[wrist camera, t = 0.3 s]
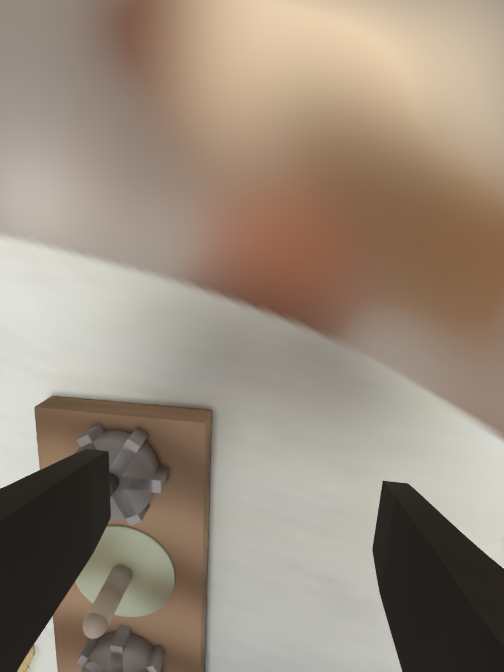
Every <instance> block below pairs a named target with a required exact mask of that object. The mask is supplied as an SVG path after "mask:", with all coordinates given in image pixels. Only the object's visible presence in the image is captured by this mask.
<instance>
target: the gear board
mask: <svg viewBox="0 0 504 672" xmlns="http://www.w3.org/2000/svg"><path fill="white" fill-rule="evenodd" d="M34 408H35V420H36V431H37V442H38V454H39V465H40V470H41V469H43V468H45V467H48V466H50V465H52V464H54V463H56V462H58V461H60V460H62V459H64V458H66V457H69V456H71V455H73V454H75V453H78V452H80V451H83V450H86V449H93V450H102V451H109V474H110V504H111V518H110V520H109V522H108V525H107V527H106V529H105V531H104V533H103V535H102V537H101V539H100V541H99V543H98V545H97V547H96V549H95V551H94V553H93V555H92V556H91V558H90V559H89V561H88V562H87V564H86V566H85V567H84V569H83V570H82V572H81V573H80V575H79V576H78V578H77V579H76V581H75V583H74V584H73V586H72V587H71V589H70V590H69V592H68V593H67V595H66V596H65V598H64V599H63V601H62V602H61V604H60V605H59V607H58V608H57V610H56V611H55V613H54V614H53V623H54V634H55V645H56V656H57V668H58V672H205V641H206V604H207V568H208V531H209V495H210V459H211V422H212V411H210V410H199V409H188V408H177V407H166V406H155V405H144V404H133V403H122V402H111V401H100V400H89V399H78V398H67V397H56V396H52V397H50V398H48V399H47V400H45V401H43V402H42V403H40V404H39V405H37V406H35V407H34Z"/></svg>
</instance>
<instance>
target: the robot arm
mask: <svg viewBox="0 0 504 672" xmlns="http://www.w3.org/2000/svg"><path fill="white" fill-rule="evenodd" d="M110 518H111V504H110V474H109V451H102V450H93V449H86V450H83V451H80V452H78V453H75V454H73V455H71V456H69V457H66V458H64V459H62V460H60V461H58V462H56V463H54V464H52V465H50V466H48V467H45V468H43V469H41V470H39V471H37V472H35V473H33V474H31V475H29V476H27V477H25V478H23V479H20V480H18V481H16V482H14V483H12V484H10V485H8V486H6V487H3V488H1V489H0V672H17V671H18V669H19V667H20V666H21V664H22V663H23V661H24V659H25V658H26V656H27V654H28V653H29V651H30V649H31V648H32V646H33V645H34V643H35V642H36V640H37V639H38V637H39V636H40V634H41V632H42V631H43V629H44V628H45V626H46V625H47V623H48V622H49V620H50V619H51V617H52V616H53V614H54V613H55V611H56V610H57V608H58V607H59V605H60V604H61V602H62V601H63V599H64V598H65V596H66V595H67V593H68V592H69V590H70V589H71V587H72V586H73V584H74V583H75V581H76V579H77V578H78V576H79V575H80V573H81V572H82V570H83V569H84V567H85V566H86V564H87V562H88V561H89V559H90V558H91V556H92V555H93V553H94V551H95V549H96V547H97V545H98V543H99V541H100V539H101V537H102V535H103V533H104V531H105V529H106V527H107V525H108V522H109V520H110ZM373 556H374V562H375V569H376V575H377V580H378V586H379V591H380V595H381V599H382V602H383V606H384V610H385V613H386V617H387V620H388V624H389V627H390V630H391V634H392V637H393V641H394V644H395V648H396V651H397V654H398V658H399V661H400V665H401V668H402V672H504V569H503V568H502V567H501V566H500V565H498V564H497V563H496V562H495V561H494V560H492V559H491V558H490V557H489V556H488V555H486V554H485V553H484V552H483V551H482V550H481V549H479V548H478V547H477V546H476V545H475V544H474V543H473V542H471V541H470V540H469V539H468V538H467V537H466V536H465V535H464V534H462V533H461V532H460V531H459V530H458V529H457V528H456V527H455V526H454V525H453V524H452V523H450V522H449V521H448V520H447V519H446V518H445V517H444V516H443V515H442V514H441V513H440V512H439V511H438V510H436V509H435V508H434V507H433V506H432V505H431V504H430V503H429V502H428V501H427V500H426V499H425V498H424V497H423V496H421V495H420V494H419V493H418V492H417V491H416V490H415V489H414V488H413V487H411V486H410V485H409V484H407V483H398V482H388V481H383V484H382V490H381V497H380V503H379V510H378V517H377V523H376V530H375V536H374V543H373Z"/></svg>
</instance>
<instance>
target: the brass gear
mask: <svg viewBox="0 0 504 672" xmlns="http://www.w3.org/2000/svg"><path fill="white" fill-rule="evenodd" d="M33 656H34V647H33V646H32V648H31V649H30V651H29V653H28V654H27V656H26V658H25V659H24V661H23V663H22V664H21V666H20V667H19V669H18V671H17V672H26V671H27V670H28V668H29V667H28V664H29V662H30V661H31V659H32V658H33Z"/></svg>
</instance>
